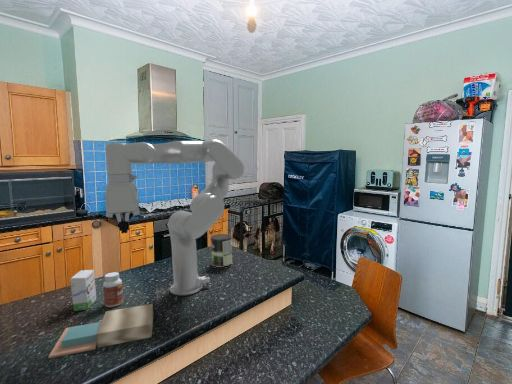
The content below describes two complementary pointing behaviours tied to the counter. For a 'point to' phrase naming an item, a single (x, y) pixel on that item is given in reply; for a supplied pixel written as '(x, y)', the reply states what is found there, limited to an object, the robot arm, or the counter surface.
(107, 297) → the pill bottle
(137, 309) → the platform
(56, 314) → the counter surface
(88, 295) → the ink box
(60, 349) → the mat
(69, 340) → the tile
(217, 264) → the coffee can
